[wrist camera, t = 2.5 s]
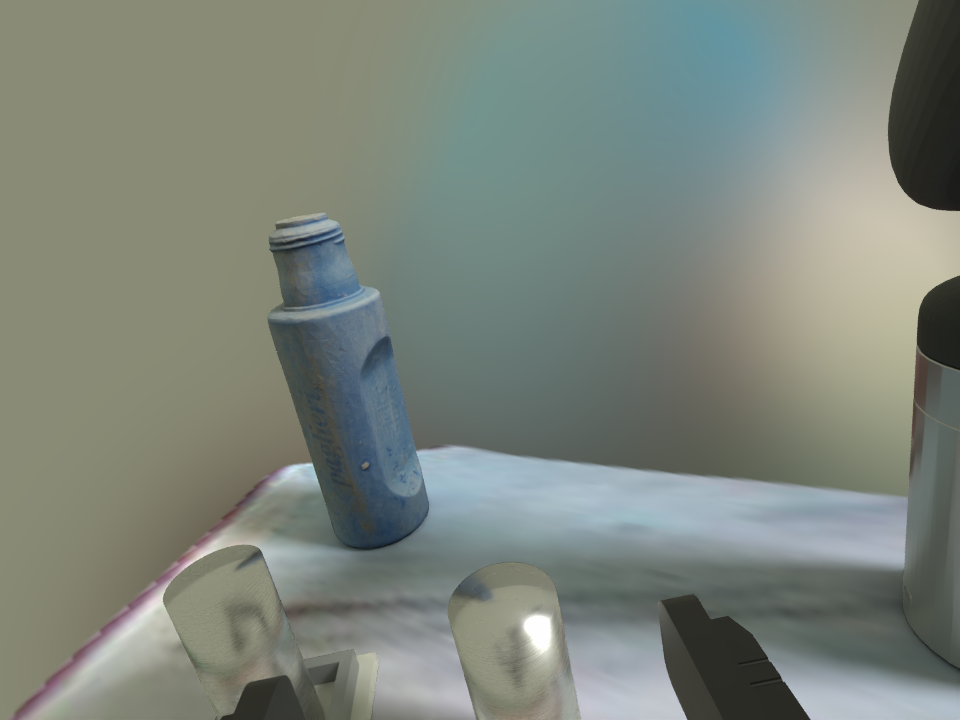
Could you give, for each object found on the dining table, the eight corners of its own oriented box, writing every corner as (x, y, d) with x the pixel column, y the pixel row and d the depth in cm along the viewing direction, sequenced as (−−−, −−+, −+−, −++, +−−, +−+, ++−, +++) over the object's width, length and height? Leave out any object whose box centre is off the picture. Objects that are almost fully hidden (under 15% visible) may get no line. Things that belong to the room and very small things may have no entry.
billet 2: (611, 769, 28) (578, 584, 24) (558, 865, 24) (511, 666, 21) (533, 719, 31) (494, 550, 28) (478, 797, 28) (425, 616, 24)
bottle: (367, 487, 60) (289, 215, 50) (446, 493, 56) (380, 200, 46) (315, 545, 52) (210, 233, 41) (404, 556, 48) (312, 217, 38)
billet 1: (341, 724, 32) (279, 561, 29) (265, 800, 29) (183, 626, 25) (298, 685, 36) (238, 535, 32) (226, 749, 32) (149, 589, 29)
